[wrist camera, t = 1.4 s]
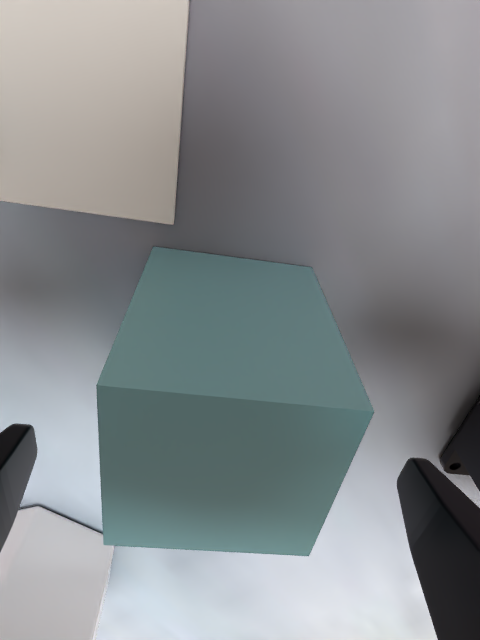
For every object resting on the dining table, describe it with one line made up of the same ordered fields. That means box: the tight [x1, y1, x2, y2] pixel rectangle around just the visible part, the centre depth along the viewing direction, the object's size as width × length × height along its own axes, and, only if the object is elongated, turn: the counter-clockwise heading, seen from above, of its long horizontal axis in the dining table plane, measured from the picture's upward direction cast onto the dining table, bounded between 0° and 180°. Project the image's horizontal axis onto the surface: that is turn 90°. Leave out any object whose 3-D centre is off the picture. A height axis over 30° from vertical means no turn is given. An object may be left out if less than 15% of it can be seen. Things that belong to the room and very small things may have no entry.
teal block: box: [96, 246, 374, 556], centre depth 12 cm, size 5×5×7 cm
